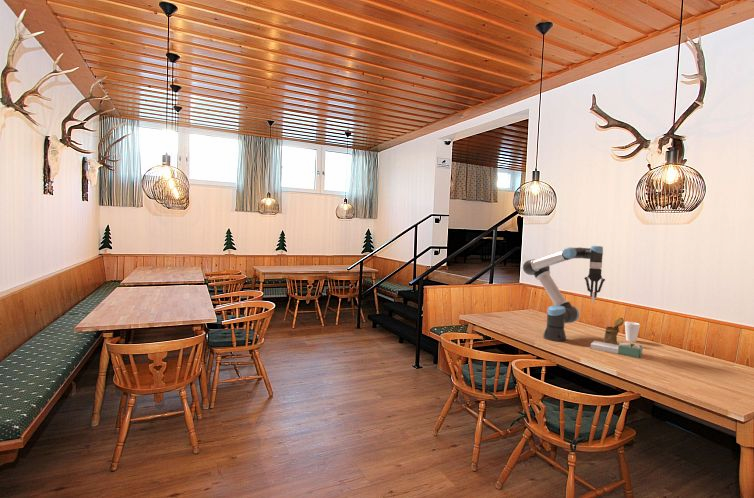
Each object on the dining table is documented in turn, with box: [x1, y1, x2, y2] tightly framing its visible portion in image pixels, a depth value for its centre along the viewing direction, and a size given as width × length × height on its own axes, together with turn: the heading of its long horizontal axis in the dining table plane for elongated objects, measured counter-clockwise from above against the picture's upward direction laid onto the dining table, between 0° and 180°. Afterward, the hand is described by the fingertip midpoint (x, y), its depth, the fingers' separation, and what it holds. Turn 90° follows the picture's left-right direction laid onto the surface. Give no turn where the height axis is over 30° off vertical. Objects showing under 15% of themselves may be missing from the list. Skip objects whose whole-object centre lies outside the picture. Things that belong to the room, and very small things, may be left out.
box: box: [617, 341, 644, 359], centre depth 263 cm, size 12×12×6 cm
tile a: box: [618, 342, 632, 347], centre depth 265 cm, size 6×6×3 cm
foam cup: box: [624, 321, 641, 343], centre depth 298 cm, size 10×9×13 cm
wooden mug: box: [602, 317, 625, 345], centre depth 288 cm, size 9×14×18 cm, turn 104°
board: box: [590, 340, 619, 355], centre depth 272 cm, size 16×12×3 cm
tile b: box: [631, 343, 640, 349], centre depth 262 cm, size 6×6×3 cm
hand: (593, 301), depth 284 cm, fingers closed
